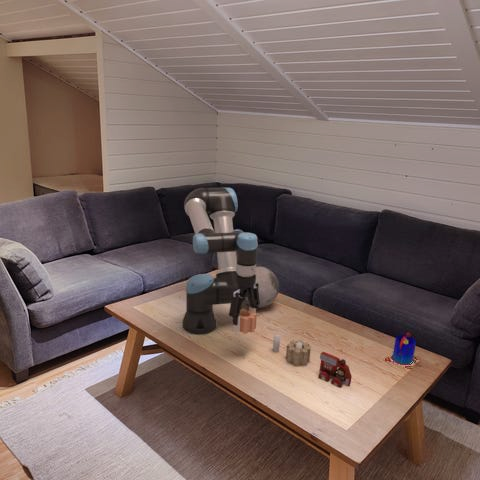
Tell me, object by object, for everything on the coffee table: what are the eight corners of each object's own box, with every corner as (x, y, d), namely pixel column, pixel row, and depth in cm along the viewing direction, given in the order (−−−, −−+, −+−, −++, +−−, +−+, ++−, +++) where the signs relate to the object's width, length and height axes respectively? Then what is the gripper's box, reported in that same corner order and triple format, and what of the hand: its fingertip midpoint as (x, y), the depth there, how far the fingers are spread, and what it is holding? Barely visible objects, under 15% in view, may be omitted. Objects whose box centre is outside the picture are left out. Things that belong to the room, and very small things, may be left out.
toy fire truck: (344, 394, 155) (347, 368, 152) (313, 379, 163) (316, 355, 159) (353, 385, 161) (356, 360, 157) (323, 371, 168) (325, 347, 165)
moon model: (252, 318, 206) (254, 279, 200) (229, 302, 222) (230, 264, 216) (286, 309, 216) (288, 271, 210) (262, 293, 232) (264, 258, 226)
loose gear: (228, 328, 173) (228, 314, 172) (242, 320, 180) (243, 307, 178) (245, 335, 168) (246, 321, 166) (260, 328, 174) (261, 314, 173)
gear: (284, 364, 169) (285, 350, 167) (287, 351, 177) (289, 338, 175) (308, 368, 167) (309, 354, 165) (310, 355, 175) (311, 342, 173)
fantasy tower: (410, 372, 169) (415, 345, 165) (381, 360, 177) (385, 333, 173) (422, 360, 177) (427, 334, 174) (394, 349, 185) (398, 323, 181)
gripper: (235, 284, 157) (233, 340, 164) (270, 268, 173) (268, 320, 180) (219, 279, 162) (218, 334, 168) (255, 264, 178) (253, 314, 184)
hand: (244, 327), depth 174 cm, fingers closed on loose gear, 9 cm apart
